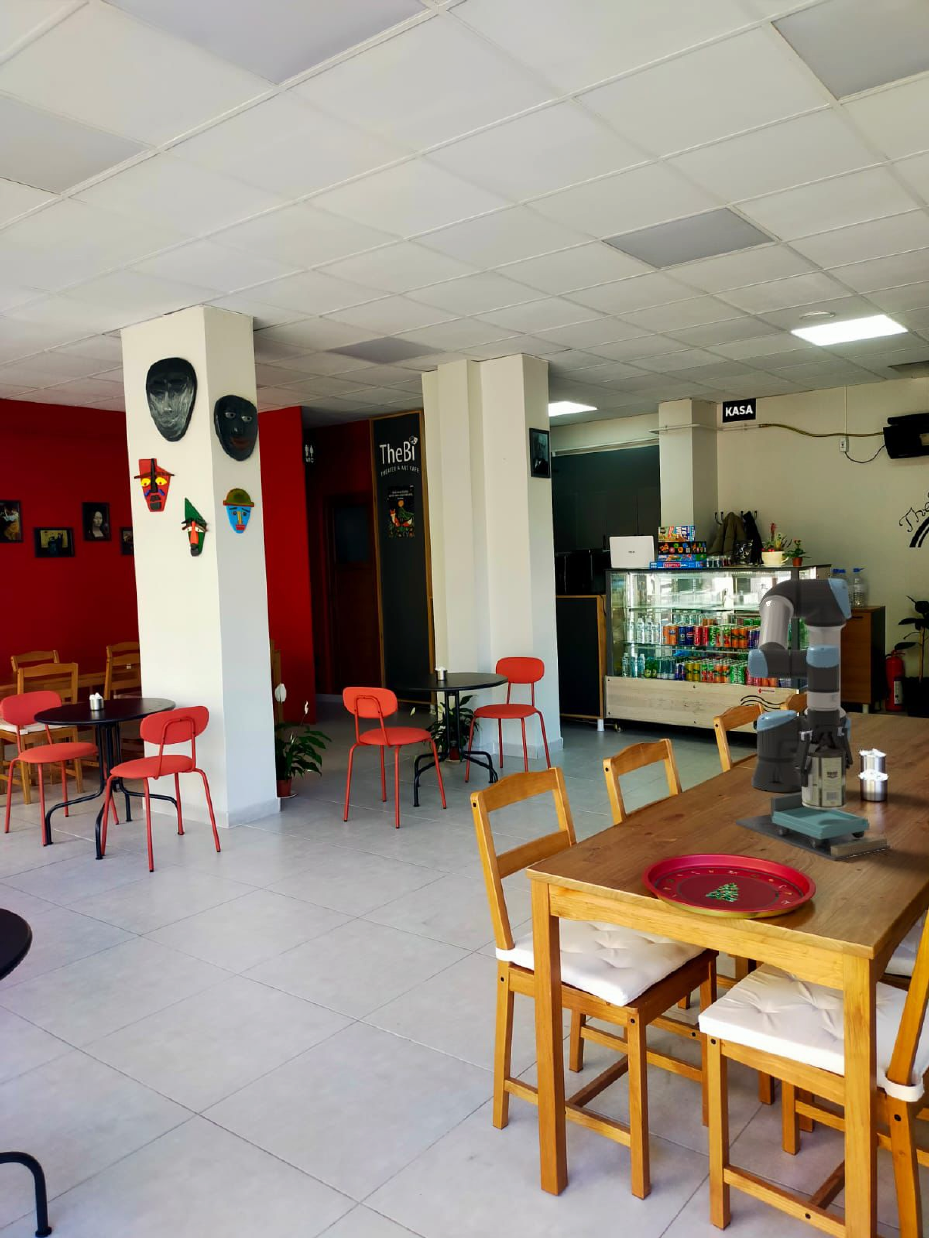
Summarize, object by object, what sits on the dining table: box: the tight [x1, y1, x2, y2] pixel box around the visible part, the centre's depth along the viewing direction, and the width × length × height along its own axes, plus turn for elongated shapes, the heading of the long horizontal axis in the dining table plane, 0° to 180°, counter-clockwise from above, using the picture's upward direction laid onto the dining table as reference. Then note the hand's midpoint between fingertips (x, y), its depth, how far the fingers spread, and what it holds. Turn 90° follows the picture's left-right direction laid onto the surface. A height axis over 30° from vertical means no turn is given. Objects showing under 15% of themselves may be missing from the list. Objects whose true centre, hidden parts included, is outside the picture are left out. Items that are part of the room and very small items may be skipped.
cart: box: [770, 791, 870, 847], centre depth 224 cm, size 18×16×8 cm
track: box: [734, 813, 891, 861], centre depth 227 cm, size 34×18×3 cm, turn 24°
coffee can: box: [802, 745, 847, 811], centre depth 221 cm, size 10×10×14 cm
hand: (823, 796), depth 221 cm, fingers closed on coffee can, 10 cm apart
